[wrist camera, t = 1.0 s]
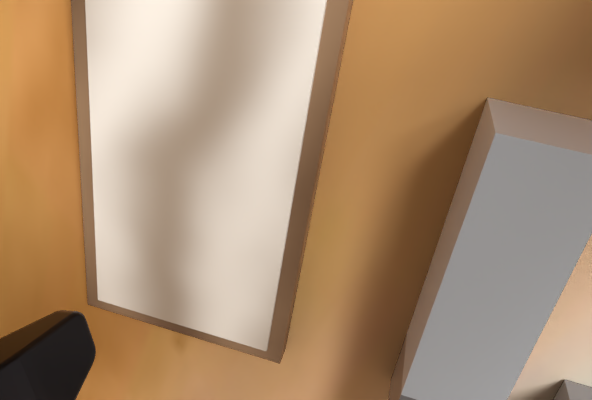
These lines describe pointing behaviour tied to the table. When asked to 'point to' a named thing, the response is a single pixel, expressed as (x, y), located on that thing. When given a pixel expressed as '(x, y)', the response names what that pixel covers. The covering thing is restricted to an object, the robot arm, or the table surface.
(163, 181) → the drawing board
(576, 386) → the button housing
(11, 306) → the table surface
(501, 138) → the grey rectangular block
